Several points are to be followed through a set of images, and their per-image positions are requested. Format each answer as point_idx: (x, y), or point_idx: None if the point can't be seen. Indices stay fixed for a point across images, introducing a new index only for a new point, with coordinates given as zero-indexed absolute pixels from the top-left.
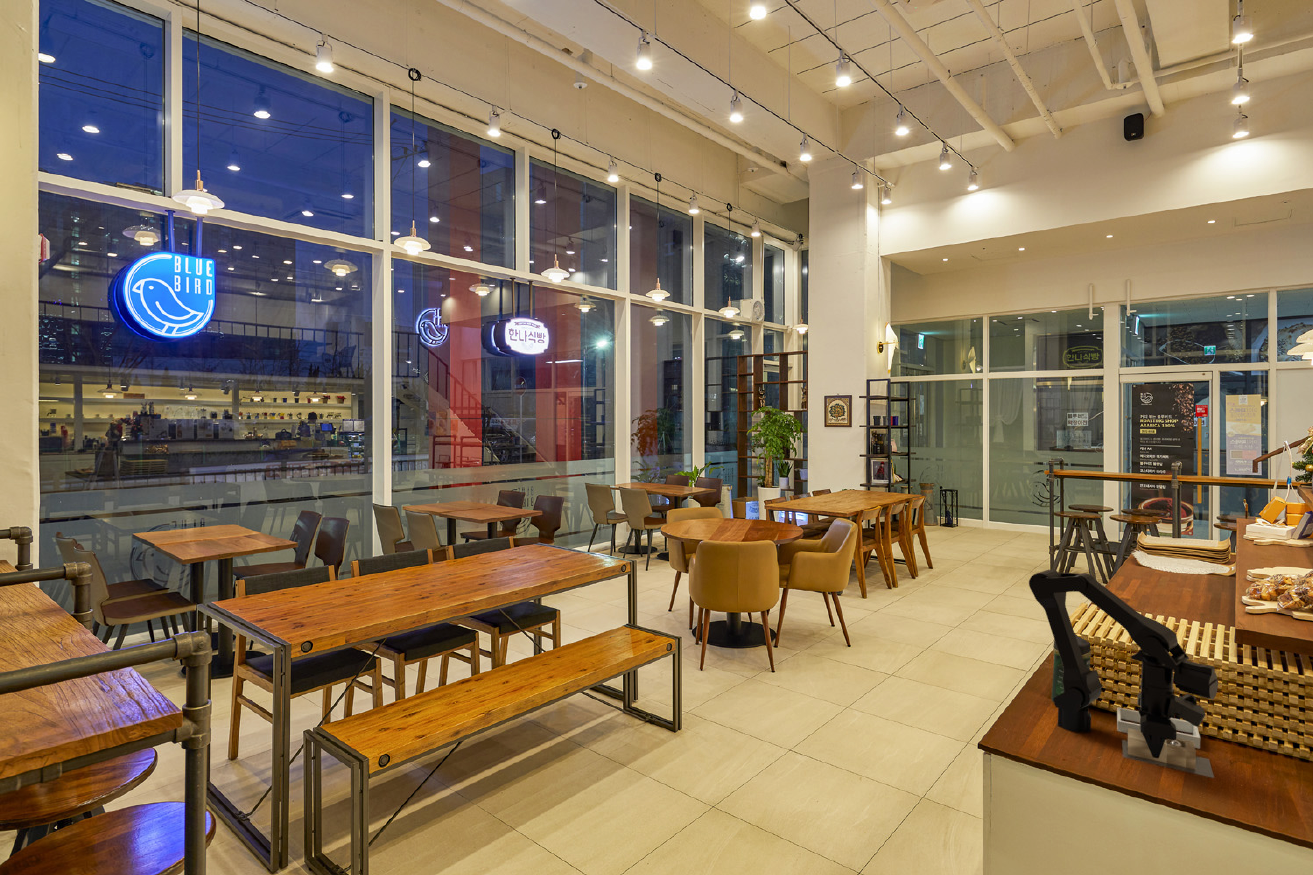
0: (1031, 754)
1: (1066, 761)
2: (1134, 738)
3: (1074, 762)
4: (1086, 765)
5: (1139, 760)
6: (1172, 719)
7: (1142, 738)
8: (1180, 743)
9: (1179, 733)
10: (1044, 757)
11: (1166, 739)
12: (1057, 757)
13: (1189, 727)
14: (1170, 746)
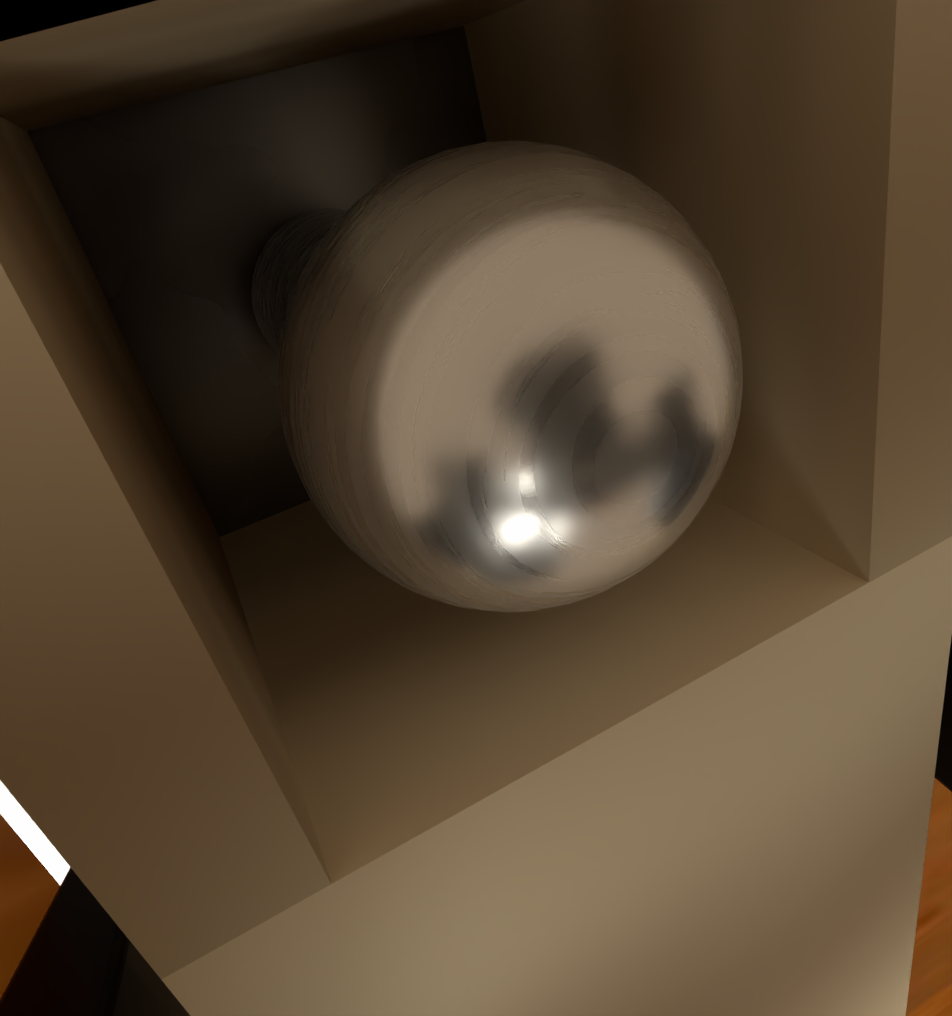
0: (943, 1006)
1: (945, 893)
2: (902, 1006)
3: (937, 868)
4: (946, 811)
5: None
6: None
7: (844, 979)
8: (538, 226)
9: None
10: (948, 964)
11: (304, 792)
12: (916, 947)
13: None
14: (946, 439)
